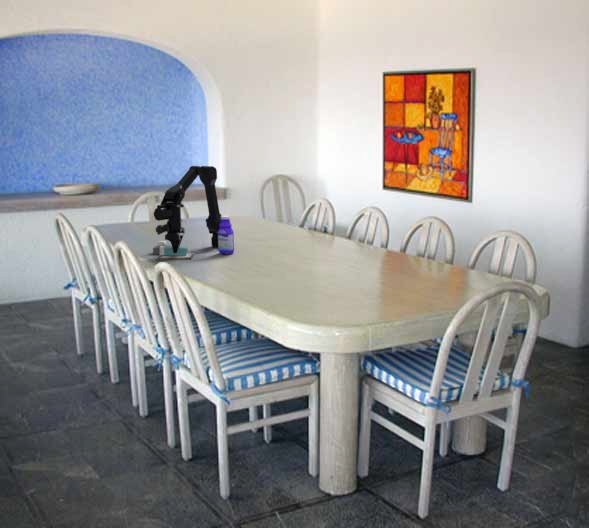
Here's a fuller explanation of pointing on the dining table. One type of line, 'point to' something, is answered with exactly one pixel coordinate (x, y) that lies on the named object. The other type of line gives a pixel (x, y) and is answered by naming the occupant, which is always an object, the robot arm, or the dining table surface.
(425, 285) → the dining table surface
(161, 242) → the button
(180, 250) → the teal and white bar
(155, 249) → the button base
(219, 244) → the bottle
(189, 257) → the wooden picture frame
